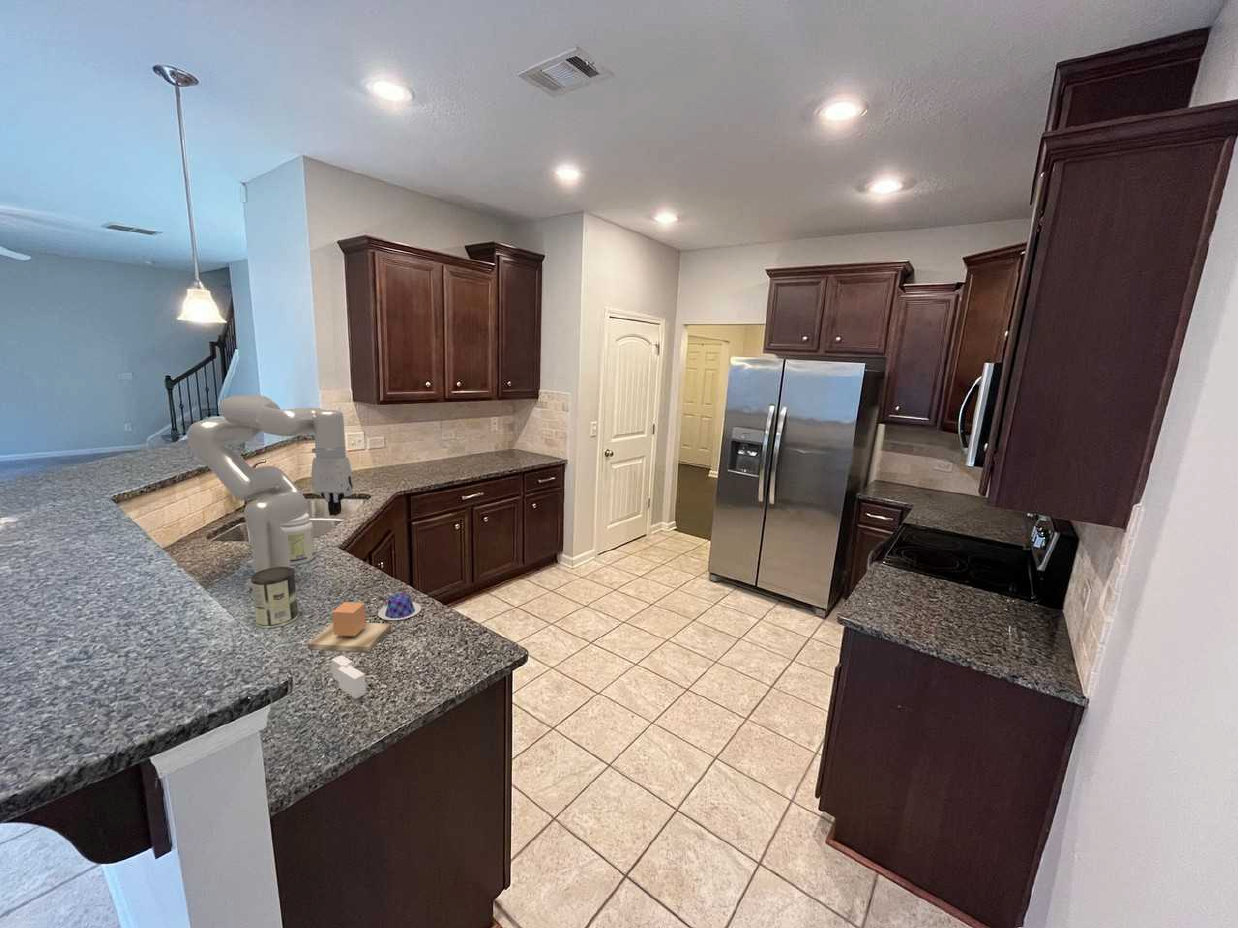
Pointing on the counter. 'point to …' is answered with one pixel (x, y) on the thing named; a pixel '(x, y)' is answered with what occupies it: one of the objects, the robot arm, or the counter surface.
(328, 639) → the post stand
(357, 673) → the white stepped block
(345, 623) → the orange block
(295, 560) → the supplement tub
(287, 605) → the coffee can
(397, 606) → the pudding
